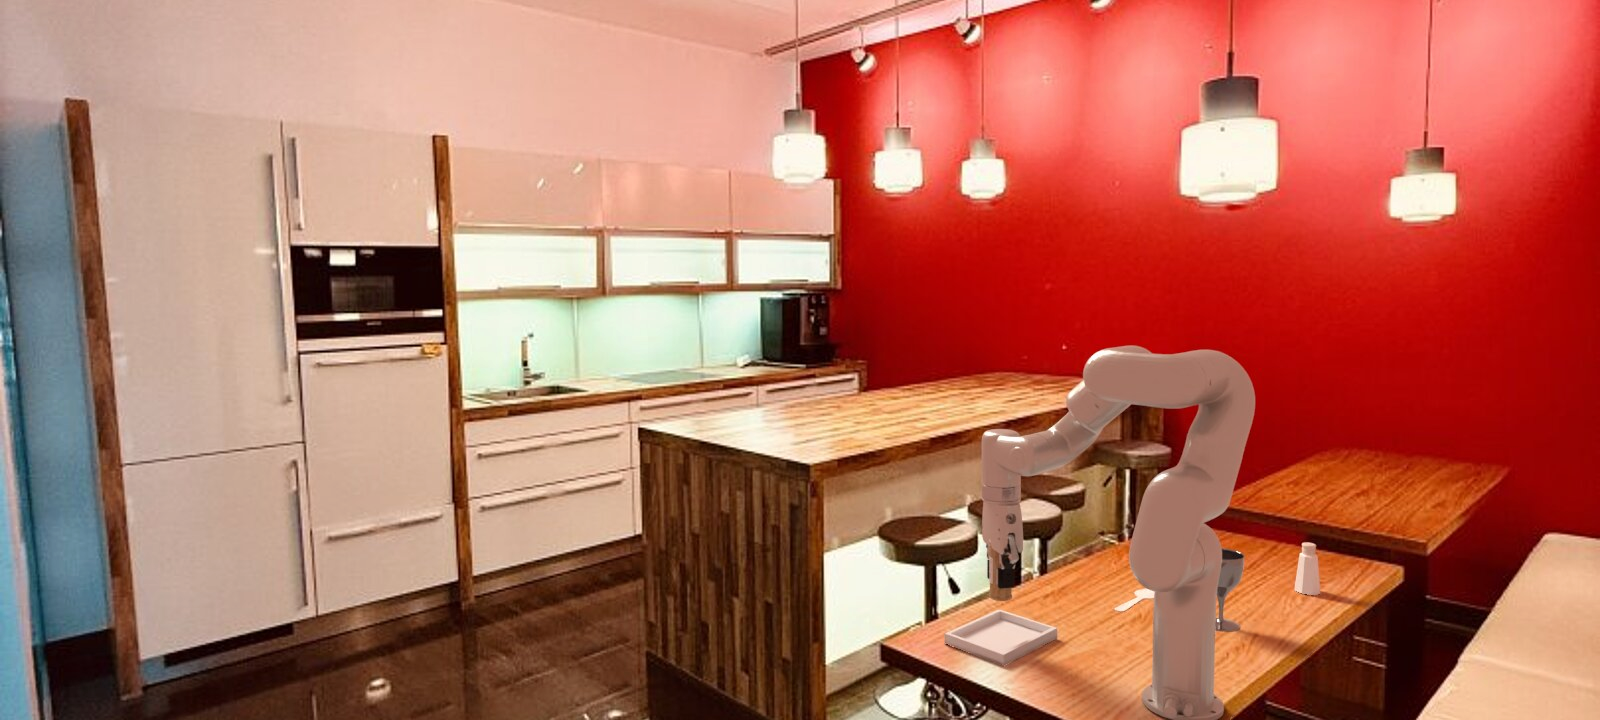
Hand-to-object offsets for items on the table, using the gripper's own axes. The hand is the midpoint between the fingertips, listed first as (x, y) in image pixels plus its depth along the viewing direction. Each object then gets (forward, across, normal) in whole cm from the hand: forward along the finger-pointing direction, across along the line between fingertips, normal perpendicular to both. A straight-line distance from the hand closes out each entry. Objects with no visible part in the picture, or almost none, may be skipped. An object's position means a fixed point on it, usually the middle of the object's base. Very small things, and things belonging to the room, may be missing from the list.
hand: (1000, 582), depth 176 cm
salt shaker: (+12, +9, -77) cm, 79 cm away
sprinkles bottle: (+3, 0, 0) cm, 3 cm away
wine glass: (+12, -3, -47) cm, 49 cm away
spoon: (+13, +14, -38) cm, 42 cm away
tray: (+12, 0, 0) cm, 12 cm away
